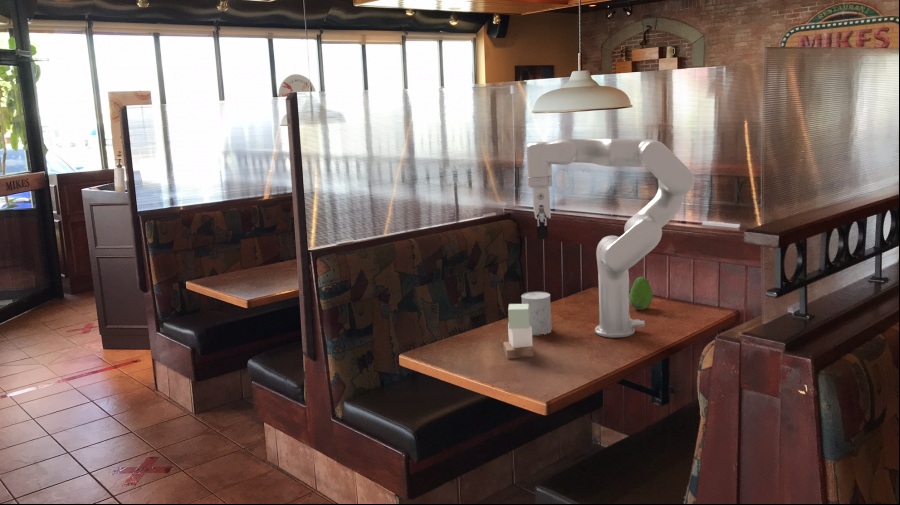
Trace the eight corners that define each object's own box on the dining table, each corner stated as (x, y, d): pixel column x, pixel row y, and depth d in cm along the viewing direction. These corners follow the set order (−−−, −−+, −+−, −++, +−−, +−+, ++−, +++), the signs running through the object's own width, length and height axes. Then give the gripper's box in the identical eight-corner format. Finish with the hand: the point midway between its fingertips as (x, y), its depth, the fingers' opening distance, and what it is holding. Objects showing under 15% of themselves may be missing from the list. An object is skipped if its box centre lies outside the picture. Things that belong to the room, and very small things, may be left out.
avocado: (648, 313, 254) (648, 280, 251) (626, 311, 258) (626, 278, 255) (655, 307, 260) (655, 274, 258) (634, 305, 264) (633, 273, 262)
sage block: (529, 322, 224) (528, 303, 223) (528, 328, 219) (528, 309, 217) (509, 322, 225) (509, 304, 224) (508, 328, 219) (508, 309, 218)
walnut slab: (529, 349, 227) (528, 340, 227) (533, 357, 219) (533, 348, 219) (503, 351, 227) (503, 342, 226) (507, 359, 219) (506, 350, 218)
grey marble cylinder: (555, 327, 245) (553, 292, 243) (546, 336, 237) (545, 299, 234) (528, 325, 249) (526, 290, 247) (519, 334, 241) (517, 298, 238)
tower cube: (527, 340, 227) (526, 321, 225) (532, 346, 221) (531, 327, 220) (508, 342, 226) (508, 323, 225) (513, 348, 220) (512, 329, 219)
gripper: (553, 184, 218) (555, 240, 221) (551, 178, 235) (553, 230, 238) (527, 185, 219) (530, 241, 222) (528, 179, 236) (530, 231, 239)
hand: (542, 235), depth 230 cm, fingers open, 9 cm apart
